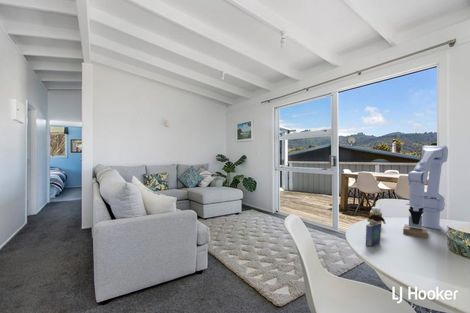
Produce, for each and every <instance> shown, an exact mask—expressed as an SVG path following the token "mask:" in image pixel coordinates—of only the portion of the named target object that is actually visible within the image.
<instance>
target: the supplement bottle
mask: <svg viewBox="0 0 470 313" xmlns="http://www.w3.org/2000/svg"><path fill="white" fill-rule="evenodd" d="M374 208H378V209H379V210H380V211H381V208H380V207H378V206H372V207H371V210H370V211H369V217H370V216H371V215H374V213H373V209H374ZM379 216H381V217H382V218H383V213H382V211H381V212H380V213H379ZM371 221H372V220H371ZM371 221H369V222H368V224H370V223H371ZM380 223H381V225H382V223H383V222H382V221H381V220H380Z"/></svg>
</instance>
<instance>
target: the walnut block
mask: <svg viewBox="0 0 470 313" xmlns="http://www.w3.org/2000/svg"><path fill="white" fill-rule="evenodd" d="M402 230H403V232H402V234H403V235H408V236H413V237H417V238H423V239H428V233H429V232H428V230H429V228H427V227H422V228H417V227H412V226H409V224H404V226H403V229H402Z"/></svg>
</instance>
